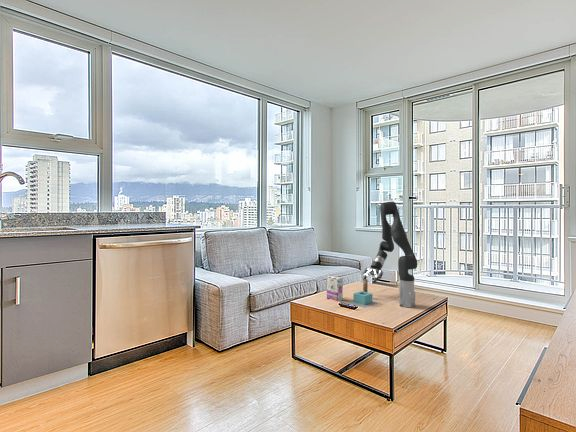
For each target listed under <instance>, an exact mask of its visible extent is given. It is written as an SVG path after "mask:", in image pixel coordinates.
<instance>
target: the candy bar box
mask: <svg viewBox="0 0 576 432" xmlns="http://www.w3.org/2000/svg"><path fill="white" fill-rule="evenodd" d="M343 282H344V281H343V277H339V276H334V275H328V276H326V300H333V301H335V302H341V301H343V297H344V296H343V295H344V294H343V288H344V287H343Z"/></svg>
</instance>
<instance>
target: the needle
mask: <svg viewBox="0 0 576 432" xmlns="http://www.w3.org/2000/svg"><path fill="white" fill-rule="evenodd" d="M362 284H363V285H362V287H363V289H362V291H364V292H368V290H369V289H368V287H369V286H368V284H369V282H368V279H367V278H366V279H363V278H362ZM368 293H369V292H368Z"/></svg>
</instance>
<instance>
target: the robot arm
mask: <svg viewBox="0 0 576 432" xmlns="http://www.w3.org/2000/svg"><path fill="white" fill-rule="evenodd" d="M379 213H380V218H381V219H380V222H381V229H382V230H381V231H382V232H381V233H382V234H381V236H382V237H381V239H382V240H383V241H381V242H380V243H379V247H378V251H377V254H376V255H375V257H374V259H373V261H372V263H371V265H370V267H369V268H368V267H365V269H364V270H363V272H362V275H363V277H362V280H363V279H367V278H368V277H369V276H375V277H374V278H373V280H372V283H373V284H376V283H377V281H378V280H381V279H382V277H383V275H384V270H382V268H383V266H384V264H385V261H386V260H387V257H388V253H387V252H389V253H392V252H393V251H394V249H395V244H396V246H398V247H399V248H400V249H401V250H402V252H403V253H404V255H400V256H399V257H398V260H397V265H398V267H397V268H398V278H399V285H398V287H399V289H398V290H399V291H398V292H399V295H398V296H399V299H398V304H399V306H400V307H404V308H409V309H410V308H413V307H415V306H416V291H415V276H414V275H413V274H410V273H409V271H411V270H415V269H417V268H418V260H417V257H416V255H415V253H414V250H413V248H412V247H411V245H410V242H409V239H408V236H407V234H406V230H405V228H404V224H403V223H402V220H401V217H400V212H399V210H398V206H397V203H396V202H395V201H386V202H381V203H380V206H379ZM388 215H389V216H390V215H392V217H393V222H392V224H390V223H389V222H388V220H387V216H388ZM394 243H395V244H394Z"/></svg>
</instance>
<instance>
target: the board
mask: <svg viewBox="0 0 576 432" xmlns="http://www.w3.org/2000/svg"><path fill="white" fill-rule="evenodd" d="M348 304H350V305H354V306H358V307H361V308H368V307H372V306H374V305H377V304H379V302H378V301H373V300H372V303H369V304H366V305H363V304H359V303H355V302H353V300H352V301H349V302H348Z"/></svg>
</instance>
